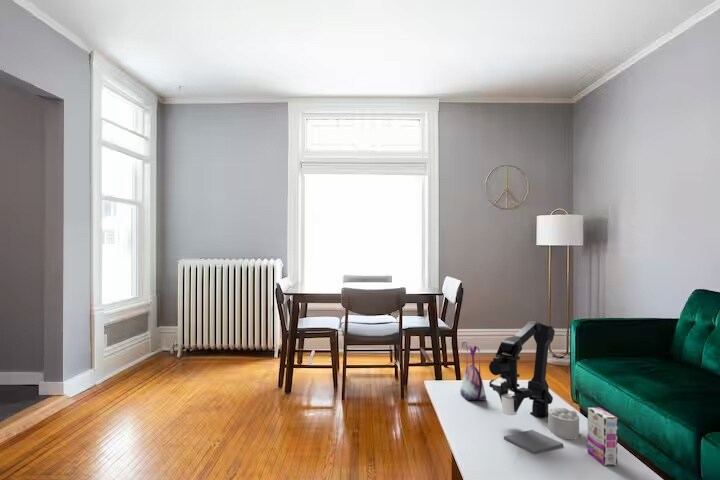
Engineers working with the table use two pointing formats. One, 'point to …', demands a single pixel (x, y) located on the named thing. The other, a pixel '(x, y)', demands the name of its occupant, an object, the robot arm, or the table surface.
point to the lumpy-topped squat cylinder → (563, 423)
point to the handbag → (472, 380)
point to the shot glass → (508, 404)
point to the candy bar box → (602, 436)
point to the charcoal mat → (533, 441)
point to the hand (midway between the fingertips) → (509, 409)
